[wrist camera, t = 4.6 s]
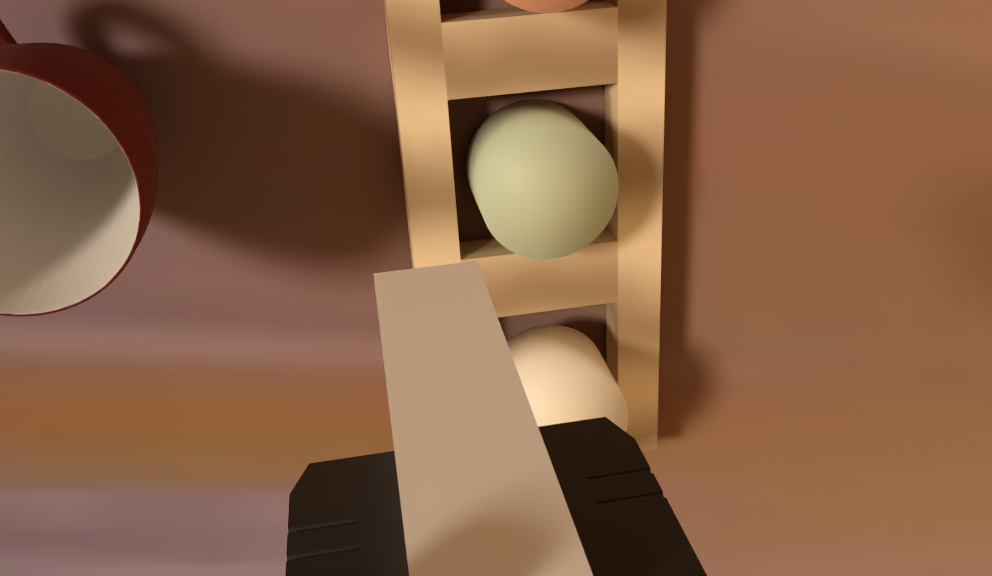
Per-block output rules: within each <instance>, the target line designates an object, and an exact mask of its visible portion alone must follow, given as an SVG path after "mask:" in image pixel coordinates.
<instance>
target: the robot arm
mask: <svg viewBox="0 0 992 576" xmlns="http://www.w3.org/2000/svg"><path fill="white" fill-rule="evenodd" d="M374 283H375V291H376V300H377V308H378V317H379V325H380V334H381V342H382V350H383V359H384V367H385V376H386V384H387V393H388V401H389V409H390V418H391V426H392V435H393V443H394V451H391V452H385V453H378V454H371V455H364V456H358V457H351V458H344V459H337V460H331V461H324V462H317V463H311V464H309V465H308V466H307V468H306V470H305V471H304V473H303V474H302V476H301V477H300V479H299V481H298V482H297V484H296V485H295V487H294V488H293V490H292V492H291V493H290V498H289V518H288V531H289V534H288V537H287V562H286V576H707V575H706V573H705V571H704V569H703V567H702V565H701V564H700V562H699V560H698V558H697V556H696V554H695V552H694V550H693V548H692V546H691V545H690V543H689V541H688V539H687V537H686V535H685V533H684V531H683V529H682V527H681V525H680V524H679V522H678V520H677V518H676V516H675V514H674V512H673V510H672V508H671V506H670V505H669V503H668V501H667V499H666V498H664V497H663V491H662V489H661V487H660V485H659V484H658V482H657V480H656V478H655V476H654V474H653V473H651V471H650V466H649V465H648V463H647V461H646V459H645V457H644V455H643V453H642V451H641V449H640V447H639V446H638V444H637V442H636V440H635V438H633V437H632V436H630V435H629V434H628V433H626V432H625V431H624V430H622V429H621V428H620V427H618V426H617V425H616V424H614V423H613V422H612V421H610V420H609V419H608V418H606V417H600V418H594V419H587V420H580V421H573V422H567V423H560V424H553V425H546V426H540V427H538V425H537V422H536V420H535V417H534V414H533V412H532V409H531V406H530V404H529V401H528V398H527V395H526V393H525V390H524V387H523V385H522V382H521V379H520V376H519V374H518V371H517V368H516V366H515V363H514V360H513V358H512V355H511V352H510V349H509V347H508V344H507V341H506V339H505V336H504V333H503V331H502V328H501V325H500V322H499V320H498V317H497V314H496V312H495V309H494V306H493V303H492V301H491V298H490V295H489V293H488V290H487V287H486V285H485V282H484V279H483V276H482V274H481V271H480V268H479V266H478V263H477V261H471V262H463V263H455V264H447V265H439V266H431V267H423V268H415V269H407V270H399V271H391V272H383V273H374Z"/></svg>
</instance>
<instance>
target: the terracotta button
mask: <svg viewBox="0 0 992 576" xmlns="http://www.w3.org/2000/svg"><path fill="white" fill-rule="evenodd" d="M504 1H506V2H508V3H510V4H511V5H513V6H516V7H518V8H520V9H523V10H527V11H531V12H538V13H555V12H561V11H565V10H568V9H572V8H574V7H577V6H579V5H581V4H583V3H585V2H586V1H588V0H504Z"/></svg>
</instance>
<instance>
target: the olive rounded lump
mask: <svg viewBox="0 0 992 576" xmlns="http://www.w3.org/2000/svg"><path fill="white" fill-rule="evenodd" d="M466 173H467V179H468V183H469V186H470V189H471V191H472V193H473V196H474V198H475V200H476V202H477V205H478V207H479V209H480V212H481V214H482V216H483V219H484V221H485V223H486V225H487V228H488V229H489V231H490V232H491V234H492V235H493V236H494V238H495V239H496V240H497V241H498V242H499V243H500V244H501V245H503V246H504V247H505V248H507V249H508V250H510V251H512V252H514V253H516V254H518V255H521V256H524V257H527V258H532V259H543V260H545V259H555V258H561V257H564V256H567V255H570V254H572V253H575V252H577V251H579V250H581V249H582V248H584V247H586V246H587V245H588V244H590V243H591V242H592V241H593V240H594V239H595V238H597V237H598V236H599V235H600V233H601V232H602V231H603V230H604V229H605V227H606V226H607V224H608V222H609V221H610V219H611V217H612V215H613V213H614V210H615V207H616V204H617V199H618V192H619V181H618V174H617V169H616V167H615V164H614V161H613V159H612V157H611V155H610V154H609V152H608V151H607V150H606V148H605V147H604V146H603V145H602V144H601V143H600V141H599V140H598V139H597V138H596V137H595V136H594V135H593V134H592V133H591V132H590V131H589V130H588V129H587V128H586V126H585V125H584V124H583V123H582V122H581V121H580V120H579V119H578V118H577V117H576V116H575V115H574V114H573V113H572V112H570V111H569V110H568V109H566V108H564V107H562V106H561V105H558V104H556V103H553V102H549V101H545V100H536V99H534V100H523V101H518V102H514V103H511V104H509V105H506V106H504V107H502V108H500V109H499V110H497V111H496V112H494V113H493V114H492V115H490V116H489V117H488V118H487V119H486V120H485V121H484V122H483V123H482V124H481V126H480V127H479V128H478V130H477V131H476V133H475V135H474V136H473V138H472V141H471V143H470V145H469V149H468V153H467V159H466Z"/></svg>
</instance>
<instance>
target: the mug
mask: <svg viewBox="0 0 992 576" xmlns="http://www.w3.org/2000/svg"><path fill="white" fill-rule="evenodd" d="M157 178H158V172H157V154H156V137H155V130H154V125H153V121H152V117H151V114H150V112H149V109H148V107H147V105H146V103H145V101H144V99H143V97H142V95H141V94H140V92H139V91H138V89H137V88H136V87H135V85H134V84H133V83H132V82H131V81H130V80H129V79H128V77H127V76H126V75H125V74H123V73H122V72H121V71H120V70H119V69H118V68H116V67H115V66H114V65H113V64H111V63H109V62H108V61H106V60H105V59H103V58H101V57H99V56H98V55H96V54H93V53H91V52H89V51H86V50H83V49H80V48H77V47H73V46H69V45H64V44H56V43H26V44H17V43H16V41H15V40H14V39H13V37H12V36H11V34H10V33H9V31H8V30H7V29H6V27H5V26H4V24H3V23H2V21H1V20H0V315H4V316H36V315H44V314H50V313H54V312H58V311H62V310H65V309H68V308H71V307H74V306H76V305H78V304H81V303H83V302H85V301H87V300H89V299H90V298H92V297H94V296H95V295H97V294H98V293H100V292H101V291H102V290H104V289H105V288H106V287H107V286H108V285H109V284H111V283H112V282H113V281H114V280H115V279H116V278H117V277H118V275H119V274H120V273H121V272H122V271H123V270H124V268H125V267H126V265H127V264H128V262H129V261H130V259H131V257H132V256H133V254H134V252H135V250H136V248H137V247H138V245H139V243H140V241H141V239H142V237H143V235H144V233H145V231H146V229H147V226H148V224H149V221H150V219H151V215H152V212H153V208H154V204H155V199H156V193H157Z"/></svg>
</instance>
